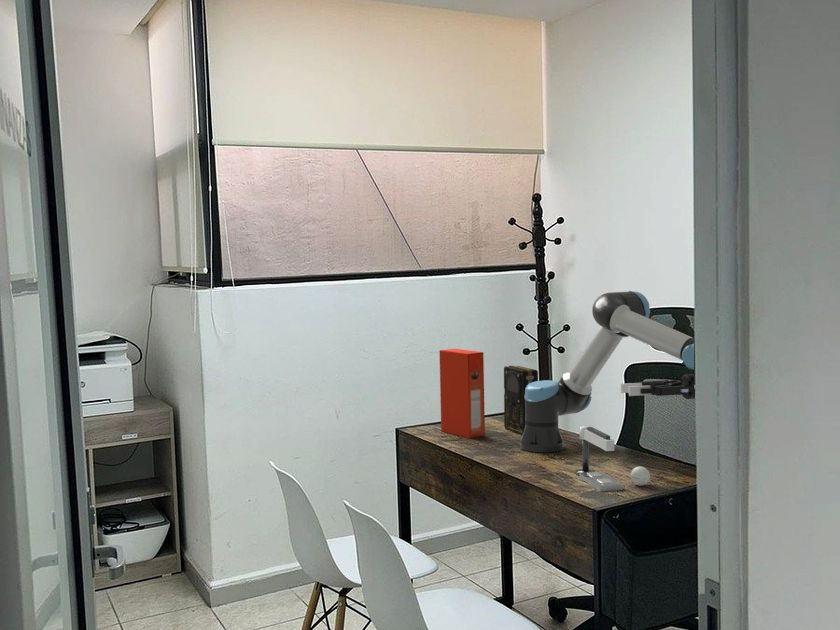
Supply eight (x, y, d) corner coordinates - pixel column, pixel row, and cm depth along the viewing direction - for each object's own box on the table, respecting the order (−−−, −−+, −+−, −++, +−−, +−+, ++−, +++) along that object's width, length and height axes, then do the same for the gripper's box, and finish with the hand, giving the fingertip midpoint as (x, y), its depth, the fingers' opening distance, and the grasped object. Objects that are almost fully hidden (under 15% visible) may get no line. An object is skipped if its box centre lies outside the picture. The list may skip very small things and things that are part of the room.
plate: (579, 477, 265) (579, 471, 265) (600, 476, 266) (600, 470, 266) (600, 491, 249) (600, 485, 249) (622, 489, 251) (622, 483, 251)
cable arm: (577, 437, 270) (577, 424, 270) (588, 437, 271) (588, 423, 270) (604, 452, 250) (604, 437, 249) (616, 451, 250) (616, 437, 250)
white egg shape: (626, 484, 257) (626, 465, 257) (643, 482, 259) (643, 463, 259) (640, 490, 250) (640, 471, 250) (657, 488, 252) (657, 469, 251)
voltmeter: (501, 428, 341) (501, 365, 340) (520, 426, 345) (520, 364, 343) (521, 436, 327) (521, 370, 325) (541, 433, 330) (540, 369, 329)
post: (573, 472, 272) (572, 438, 271) (590, 471, 273) (590, 437, 272) (580, 477, 266) (580, 442, 265) (598, 475, 267) (598, 441, 266)
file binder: (468, 438, 324) (467, 353, 322) (440, 431, 338) (439, 350, 336) (484, 435, 329) (484, 352, 327) (456, 428, 343) (455, 348, 341)
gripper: (712, 403, 253) (638, 407, 248) (682, 393, 271) (612, 397, 266) (712, 378, 252) (638, 381, 248) (682, 370, 270) (612, 373, 266)
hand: (625, 389), depth 257 cm, fingers open, 5 cm apart
